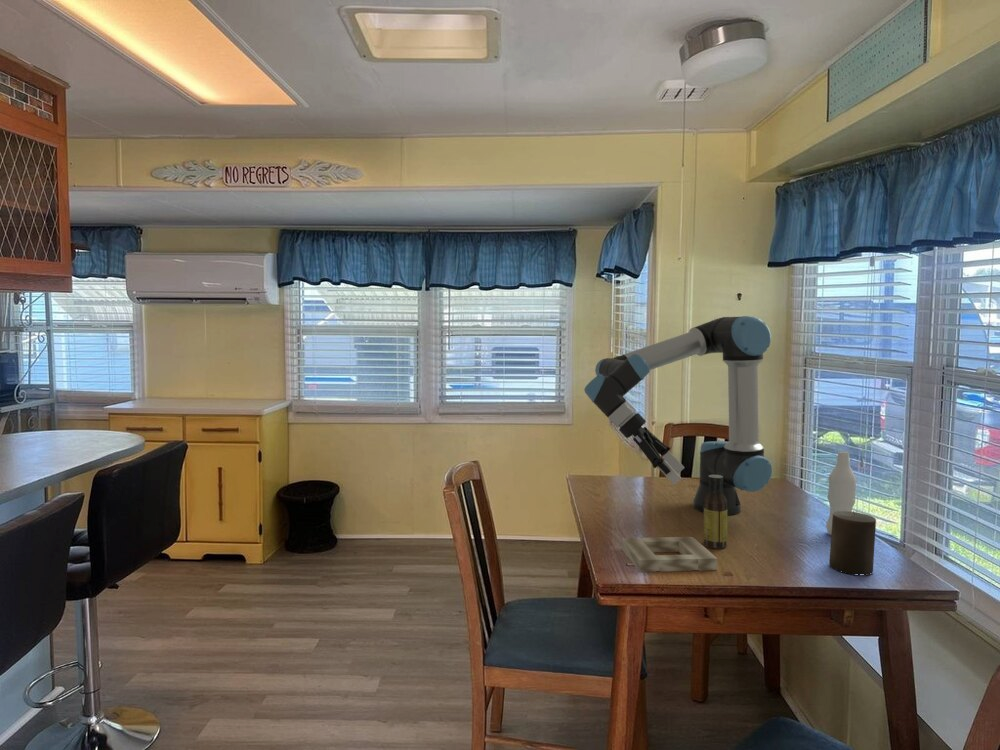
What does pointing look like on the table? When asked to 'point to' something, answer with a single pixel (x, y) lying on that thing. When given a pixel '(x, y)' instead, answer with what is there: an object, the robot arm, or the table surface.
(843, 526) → the pillar candle
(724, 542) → the sauce bottle
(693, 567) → the birch stand
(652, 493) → the table surface
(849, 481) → the water bottle
